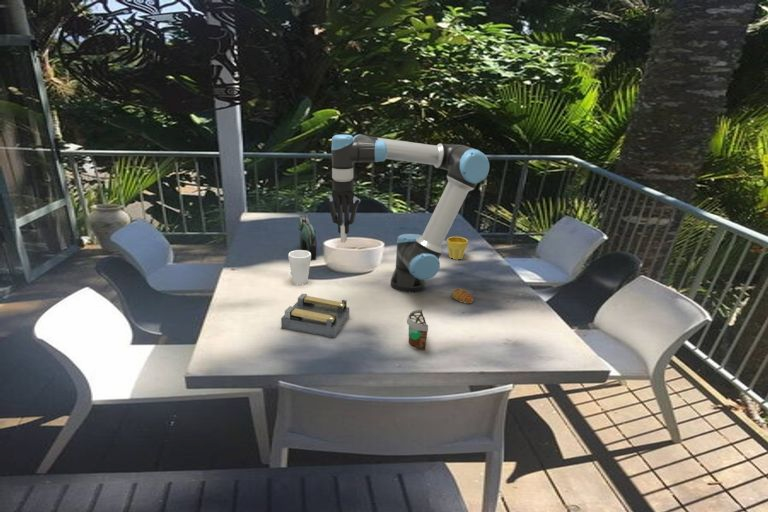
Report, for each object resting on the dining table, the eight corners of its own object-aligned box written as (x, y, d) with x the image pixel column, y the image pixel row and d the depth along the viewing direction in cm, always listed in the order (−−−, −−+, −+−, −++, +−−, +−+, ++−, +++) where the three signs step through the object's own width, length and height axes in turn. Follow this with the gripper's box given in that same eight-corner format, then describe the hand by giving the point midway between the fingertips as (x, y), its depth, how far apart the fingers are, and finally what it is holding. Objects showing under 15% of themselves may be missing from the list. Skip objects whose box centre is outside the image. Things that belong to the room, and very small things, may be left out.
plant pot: (443, 259, 244) (444, 240, 240) (448, 252, 253) (450, 235, 249) (463, 263, 240) (465, 244, 237) (467, 256, 249) (469, 238, 246)
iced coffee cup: (403, 333, 173) (405, 308, 169) (420, 333, 173) (422, 308, 170) (407, 352, 161) (409, 326, 158) (425, 352, 162) (428, 326, 158)
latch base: (349, 316, 183) (349, 300, 180) (334, 338, 168) (334, 320, 165) (300, 308, 187) (299, 292, 185) (281, 328, 172) (280, 311, 169)
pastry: (476, 302, 200) (478, 294, 199) (466, 306, 196) (467, 298, 194) (460, 294, 207) (460, 286, 205) (449, 298, 202) (450, 289, 201)
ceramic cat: (297, 247, 249) (296, 210, 242) (309, 246, 252) (309, 209, 244) (307, 261, 232) (307, 221, 225) (320, 260, 235) (320, 220, 228)
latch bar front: (335, 319, 170) (335, 315, 169) (332, 323, 167) (332, 319, 167) (294, 311, 173) (295, 307, 173) (291, 315, 170) (291, 311, 170)
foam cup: (306, 287, 205) (306, 259, 200) (285, 284, 206) (285, 256, 202) (313, 279, 213) (313, 251, 209) (294, 276, 215) (293, 249, 210)
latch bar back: (345, 306, 180) (345, 302, 179) (342, 310, 177) (343, 306, 177) (307, 299, 183) (307, 295, 183) (303, 302, 180) (304, 298, 180)
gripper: (363, 178, 176) (363, 239, 184) (328, 176, 178) (330, 236, 187) (357, 182, 169) (357, 246, 178) (322, 180, 171) (324, 243, 180)
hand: (343, 241), depth 182 cm, fingers closed
